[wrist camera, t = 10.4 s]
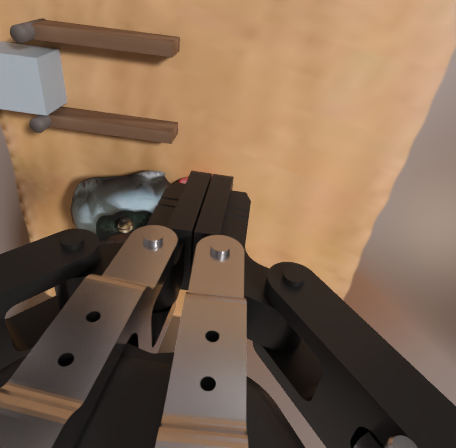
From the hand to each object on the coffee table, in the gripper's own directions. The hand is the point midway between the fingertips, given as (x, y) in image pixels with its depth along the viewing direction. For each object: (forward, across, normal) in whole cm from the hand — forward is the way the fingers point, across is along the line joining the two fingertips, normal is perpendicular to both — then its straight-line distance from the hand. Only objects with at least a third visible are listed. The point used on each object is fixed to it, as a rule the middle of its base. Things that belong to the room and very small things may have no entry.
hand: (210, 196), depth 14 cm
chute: (+32, +16, +6) cm, 36 cm away
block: (+32, +26, +6) cm, 42 cm away
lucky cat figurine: (+32, +13, +23) cm, 42 cm away
